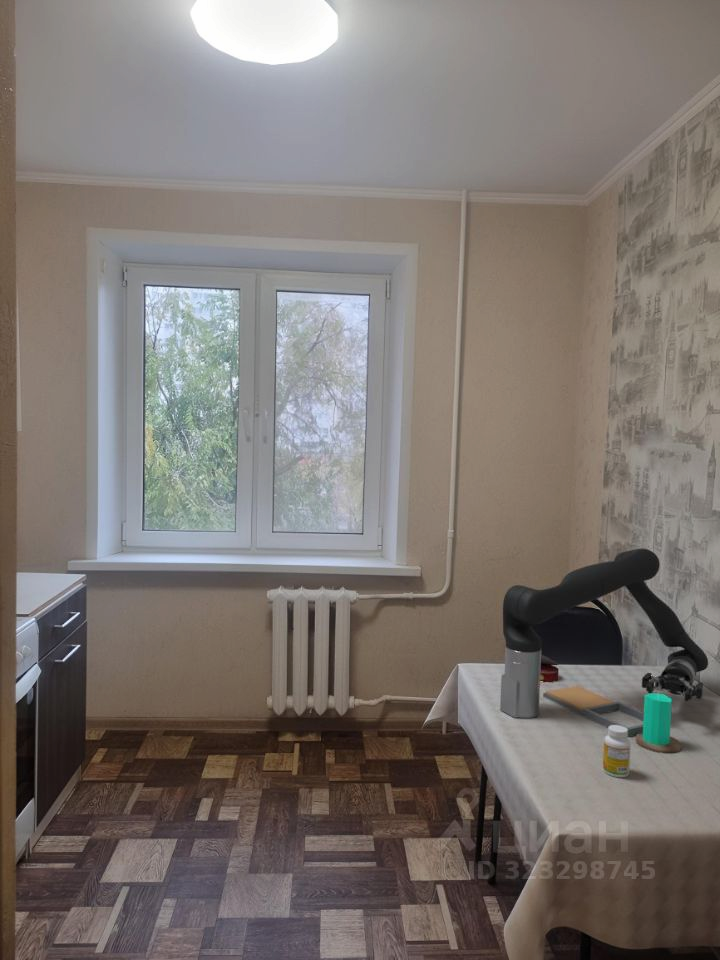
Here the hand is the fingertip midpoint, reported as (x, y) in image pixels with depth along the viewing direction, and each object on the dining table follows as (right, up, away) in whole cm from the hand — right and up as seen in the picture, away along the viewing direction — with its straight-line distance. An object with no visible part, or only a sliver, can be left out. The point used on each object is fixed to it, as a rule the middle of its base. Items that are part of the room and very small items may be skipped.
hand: (667, 693), depth 177 cm
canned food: (-22, -7, +39) cm, 45 cm away
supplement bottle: (-22, -10, -24) cm, 34 cm away
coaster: (-6, -10, -8) cm, 14 cm away
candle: (-6, -9, -8) cm, 14 cm away
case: (-13, -8, +12) cm, 19 cm away
